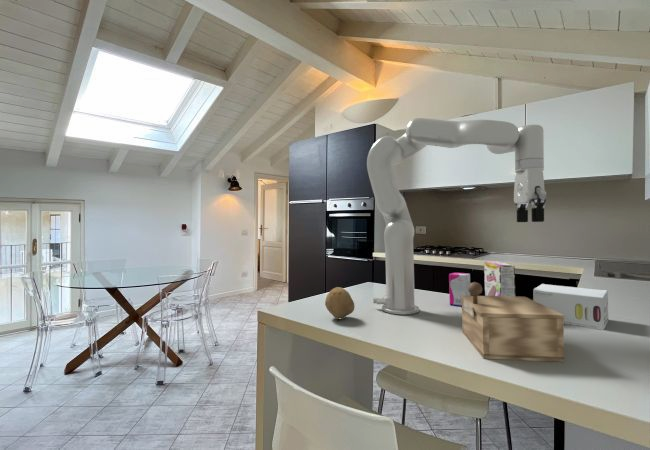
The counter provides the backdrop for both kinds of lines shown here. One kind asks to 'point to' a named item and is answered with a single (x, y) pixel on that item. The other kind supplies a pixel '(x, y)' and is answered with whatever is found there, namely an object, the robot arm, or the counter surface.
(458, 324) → the counter surface
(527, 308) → the wooden box lid
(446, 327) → the counter surface
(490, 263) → the candy bar box
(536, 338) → the wooden box
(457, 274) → the supplement box
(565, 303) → the supplement box
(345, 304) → the brown potato
